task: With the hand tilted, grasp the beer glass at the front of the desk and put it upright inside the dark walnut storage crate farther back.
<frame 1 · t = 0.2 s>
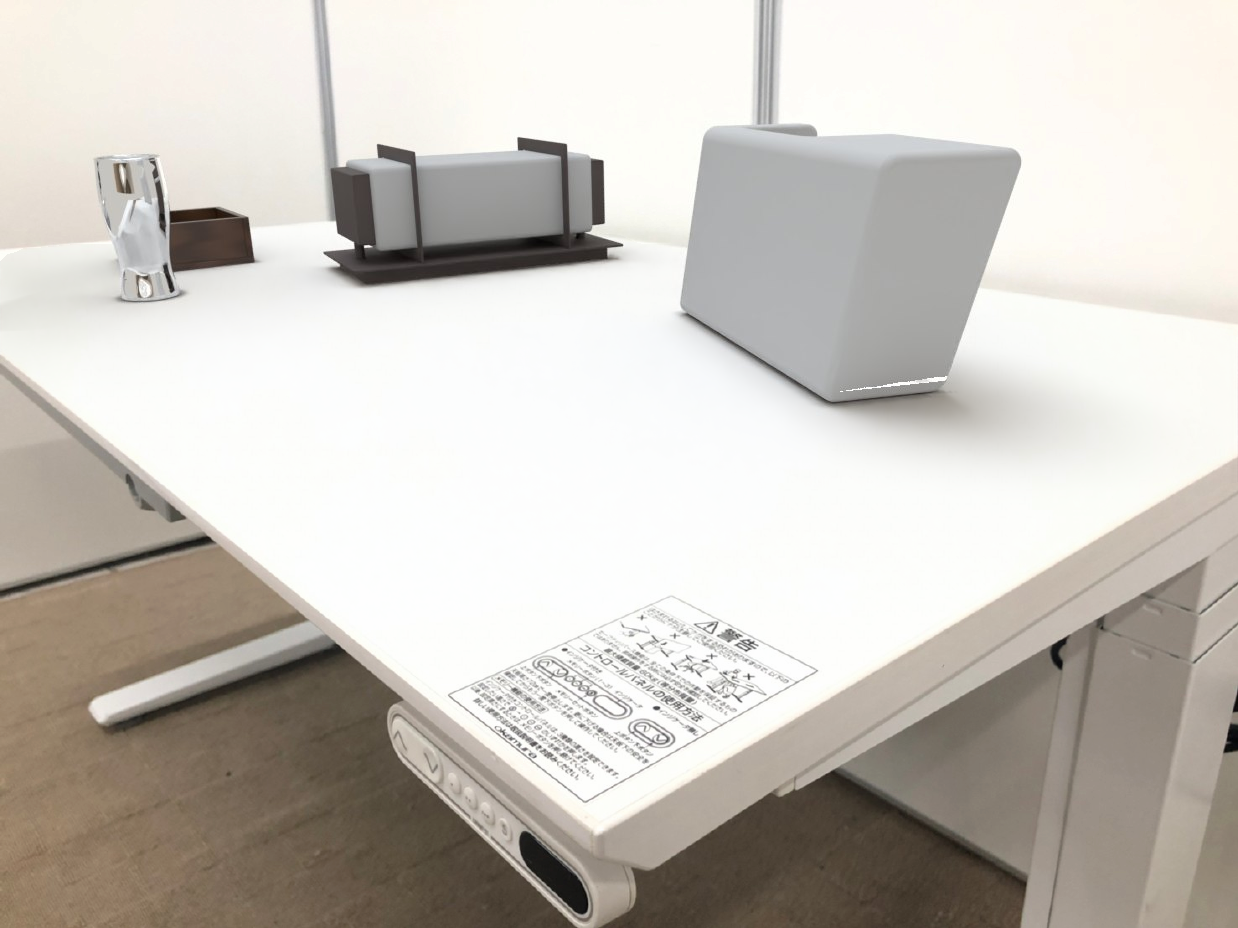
light fixture: (475, 265, 134), on the table
grey tapered block: (808, 357, 91), on the table
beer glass: (151, 297, 118), on the table
crate: (187, 260, 139), on the table
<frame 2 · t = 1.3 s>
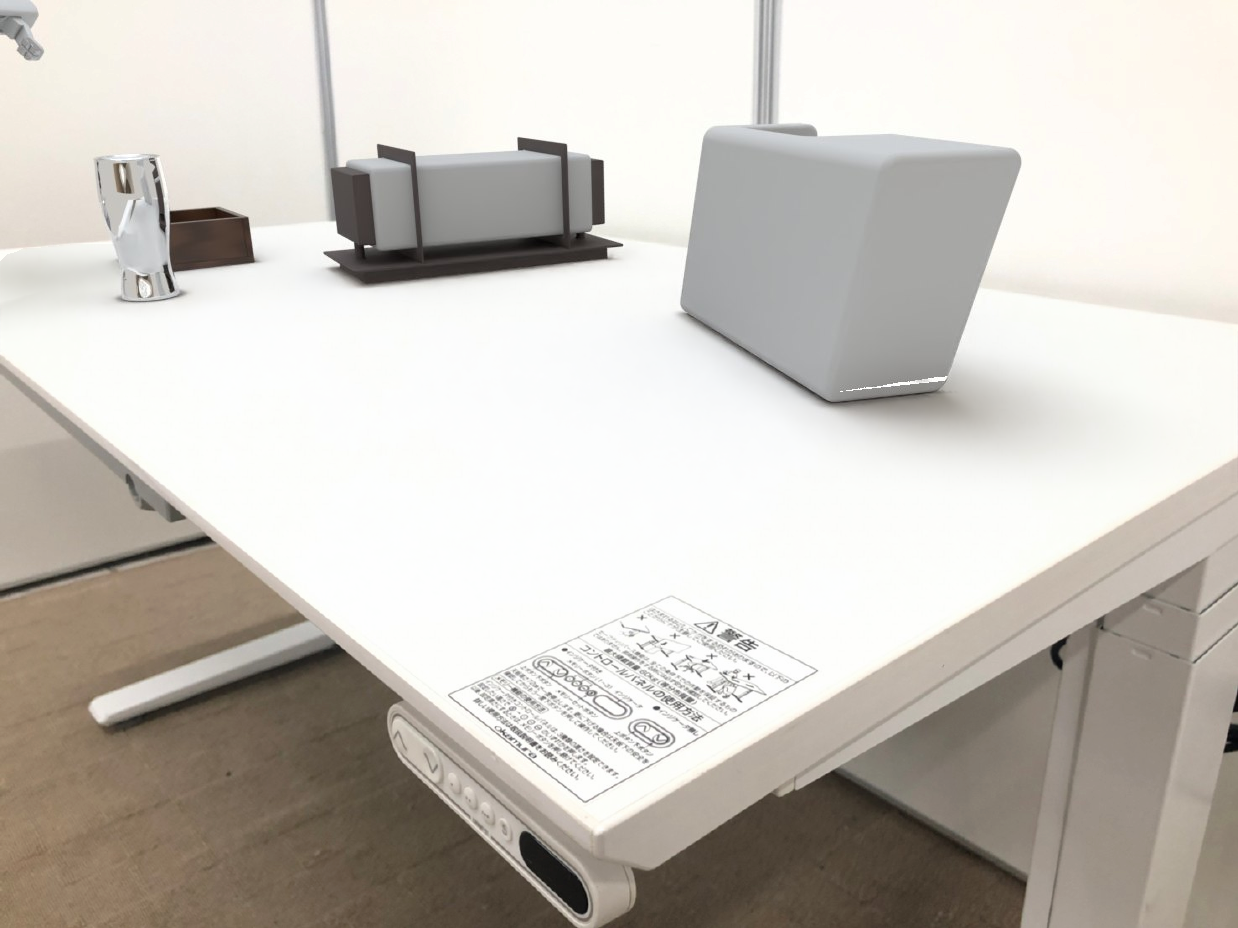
hand: (6, 56, 111), 25 cm above the table, tool tilted 45°, fingers open, 8 cm apart
nothing on the table moved.
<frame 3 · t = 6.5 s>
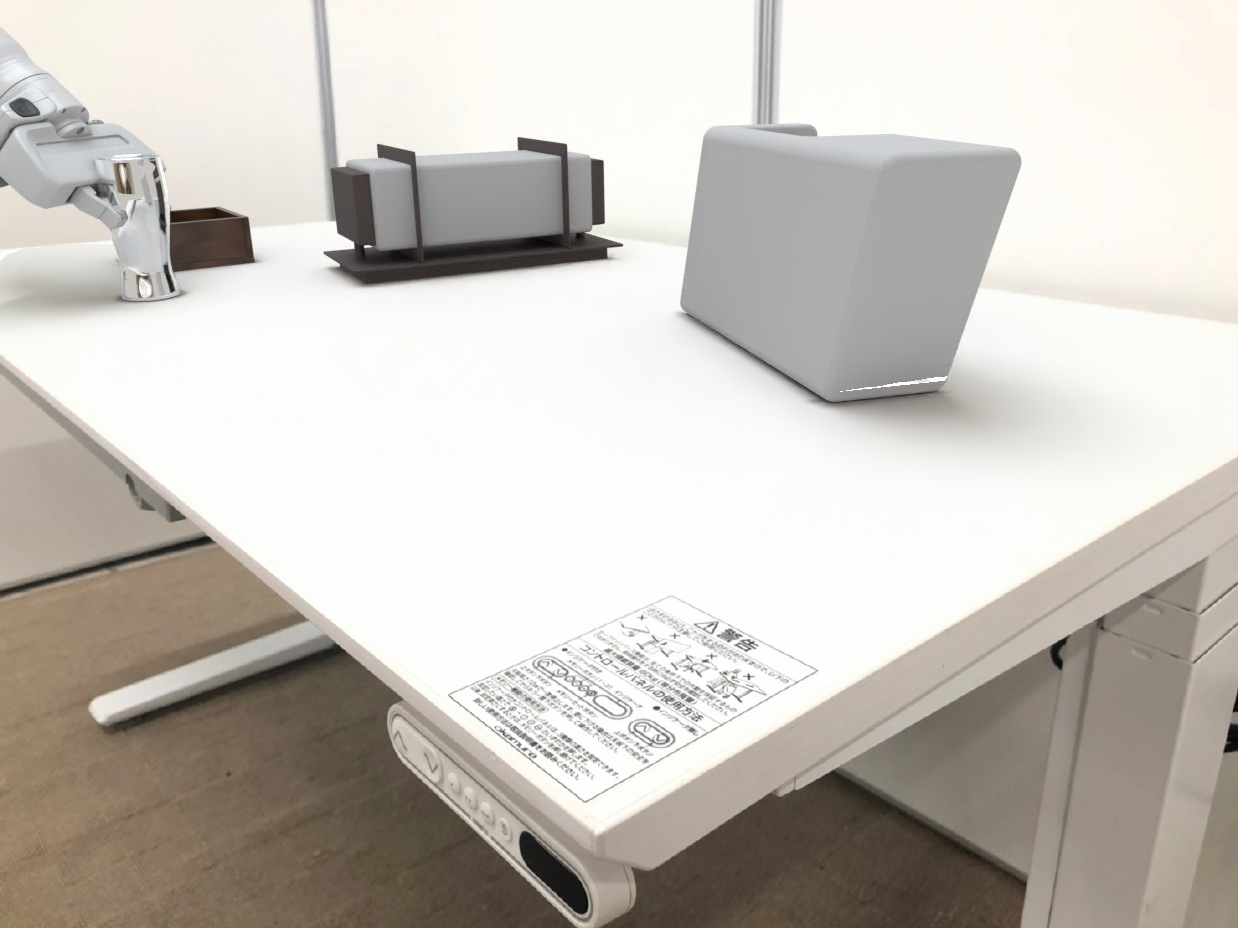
hand: (143, 218, 115), 8 cm above the table, tool tilted 45°, fingers closed on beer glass, 7 cm apart
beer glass: (151, 297, 118), on the table, touching gripper
everything else where it was.
when the fingers open (9 cm above the table, at t = 16.0 s): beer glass stays where it is, resting on crate.
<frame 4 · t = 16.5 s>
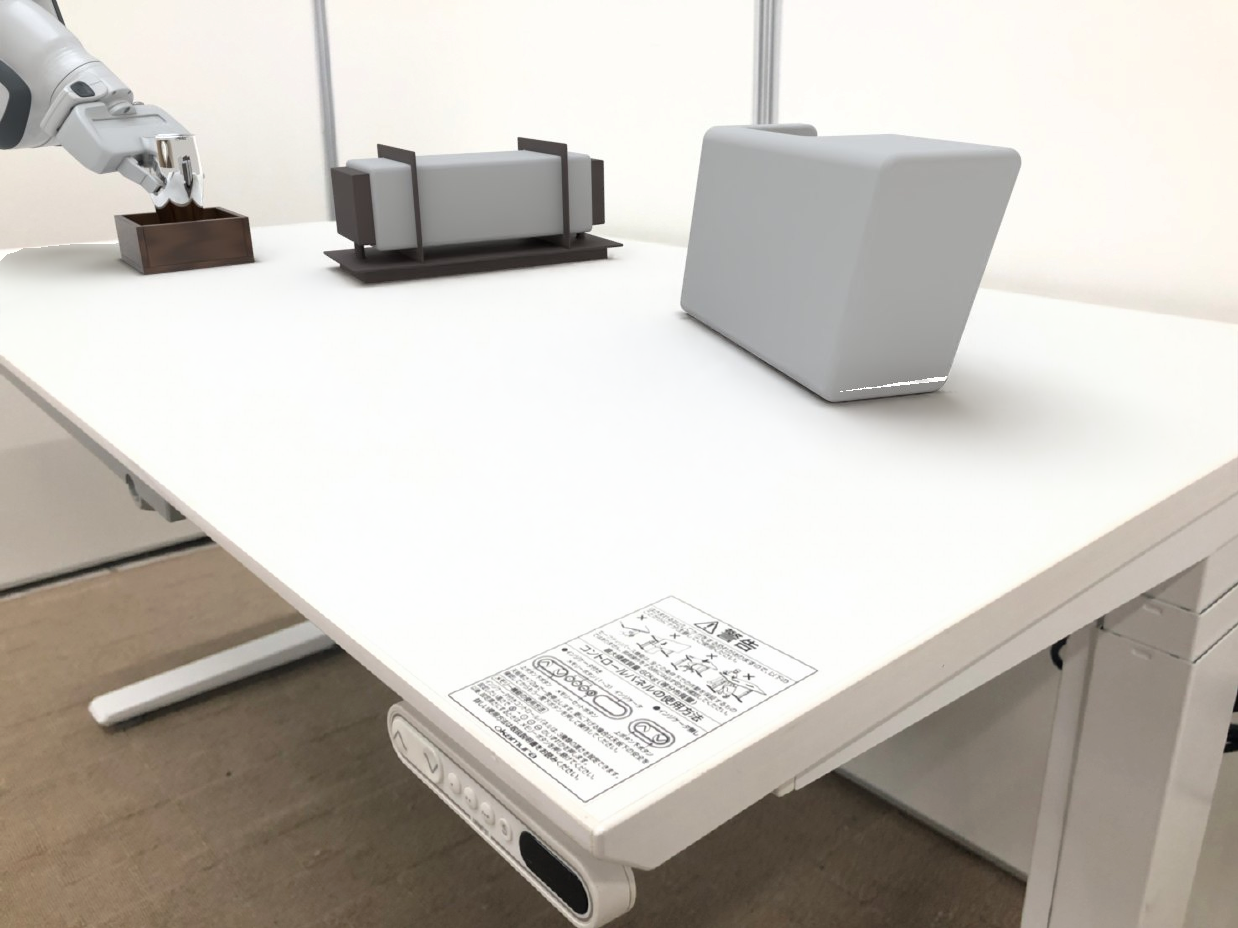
hand: (179, 185, 135), 10 cm above the table, tool tilted 45°, fingers open, 8 cm apart
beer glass: (186, 255, 139), point 1 cm above the table, touching crate
everything else where it was.
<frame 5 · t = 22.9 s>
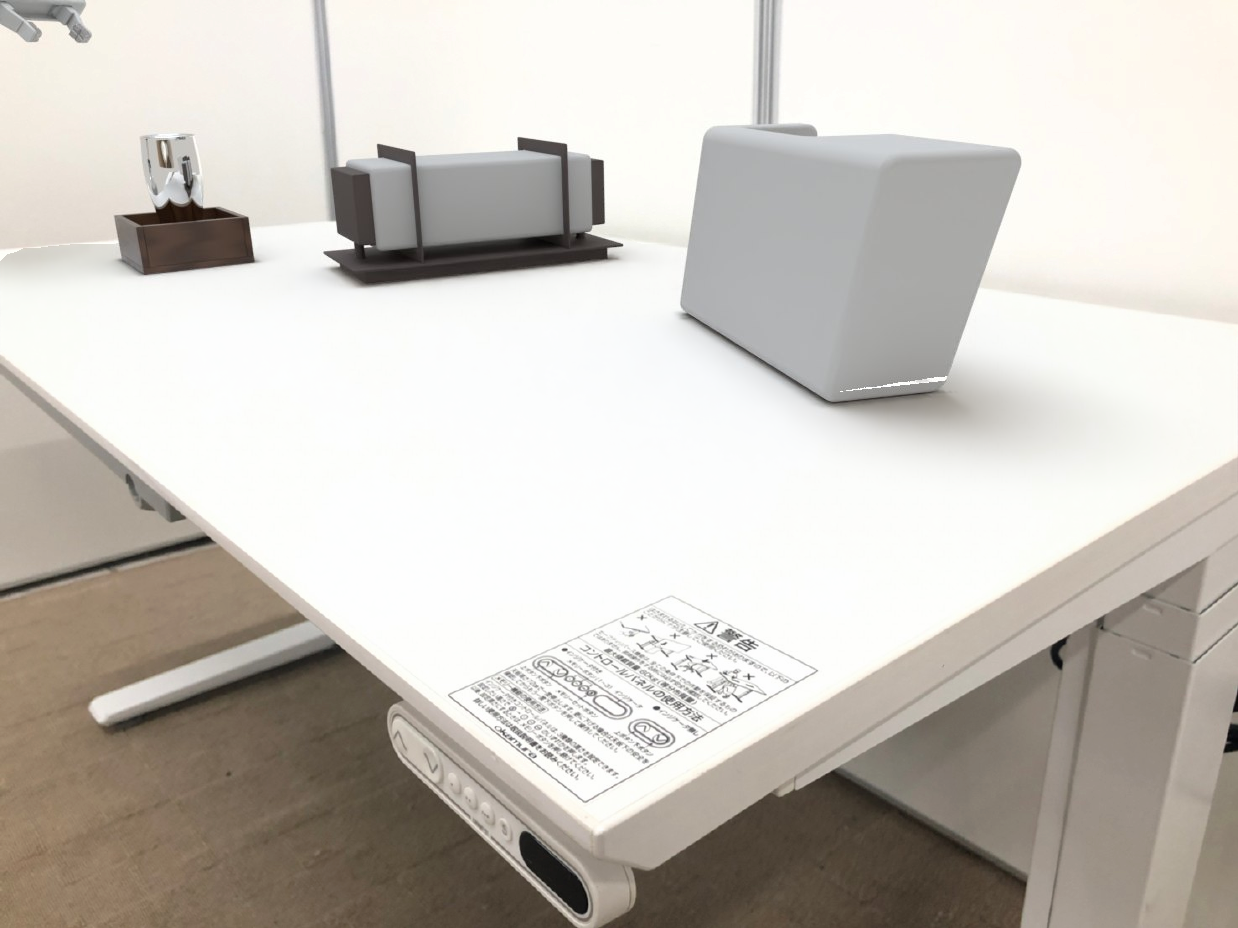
hand: (61, 38, 131), 27 cm above the table, tool tilted 45°, fingers open, 8 cm apart
nothing on the table moved.
at the end: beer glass inside the target area in the crate (0.1 cm from its centre), point 0.6 cm above the crate's base; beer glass tilted 0°; the gripper is holding nothing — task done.
